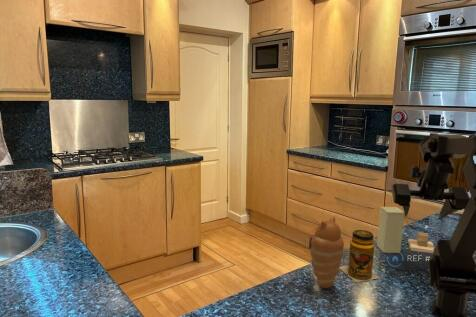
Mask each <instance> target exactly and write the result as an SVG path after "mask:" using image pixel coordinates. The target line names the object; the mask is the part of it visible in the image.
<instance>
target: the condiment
mask: <svg viewBox="0 0 476 317" xmlns="http://www.w3.org/2000/svg"><path fill="white" fill-rule="evenodd" d="M374 252H375V244H374V234H373V233H372V232H371V231H369V230H366V229H355V230H353V231H352V236H351V240H350V242H349V255H348V256H349V257H348V264H347V265H343V266H340V267H339V270H341V271H342V272H343V273H344V274H346V275H347V274H348V275H347V277H349V278H350V279H352V281H354V282H355V283H360V282H367V281H372V280H375V279H376V280H377V279H380V277H379V276H377V275H376V274H375V273H373V263H374V255H375V254H374ZM347 271H348V272H347ZM346 272H347V273H346Z"/></svg>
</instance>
